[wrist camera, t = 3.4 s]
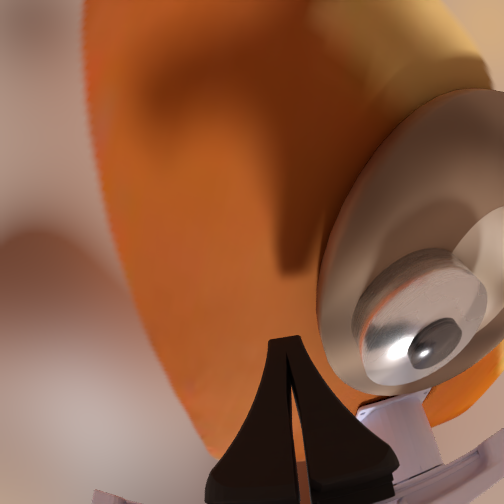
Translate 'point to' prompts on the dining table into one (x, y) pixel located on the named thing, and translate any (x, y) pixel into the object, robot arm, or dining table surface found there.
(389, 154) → the turntable
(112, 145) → the dining table surface
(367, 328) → the cover
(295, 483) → the robot arm
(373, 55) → the dining table surface
